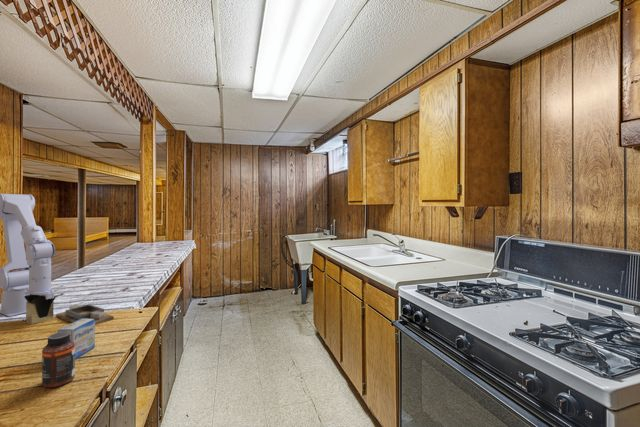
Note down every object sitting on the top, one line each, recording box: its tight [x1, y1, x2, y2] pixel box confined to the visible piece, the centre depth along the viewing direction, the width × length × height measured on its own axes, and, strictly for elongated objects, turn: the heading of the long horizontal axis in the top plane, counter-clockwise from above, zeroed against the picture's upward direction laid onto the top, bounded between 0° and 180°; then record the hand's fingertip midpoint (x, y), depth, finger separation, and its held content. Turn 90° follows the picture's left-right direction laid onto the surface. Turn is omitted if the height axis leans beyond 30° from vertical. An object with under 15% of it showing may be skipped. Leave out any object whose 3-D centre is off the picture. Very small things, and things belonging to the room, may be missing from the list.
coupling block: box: [25, 300, 55, 326], centre depth 106 cm, size 4×6×7 cm, turn 154°
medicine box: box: [56, 319, 96, 360], centre depth 85 cm, size 8×4×9 cm, turn 179°
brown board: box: [55, 303, 115, 326], centre depth 110 cm, size 19×9×3 cm, turn 64°
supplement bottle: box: [41, 332, 76, 389], centre depth 72 cm, size 6×6×11 cm
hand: (39, 315), depth 106 cm, fingers closed on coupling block, 4 cm apart
